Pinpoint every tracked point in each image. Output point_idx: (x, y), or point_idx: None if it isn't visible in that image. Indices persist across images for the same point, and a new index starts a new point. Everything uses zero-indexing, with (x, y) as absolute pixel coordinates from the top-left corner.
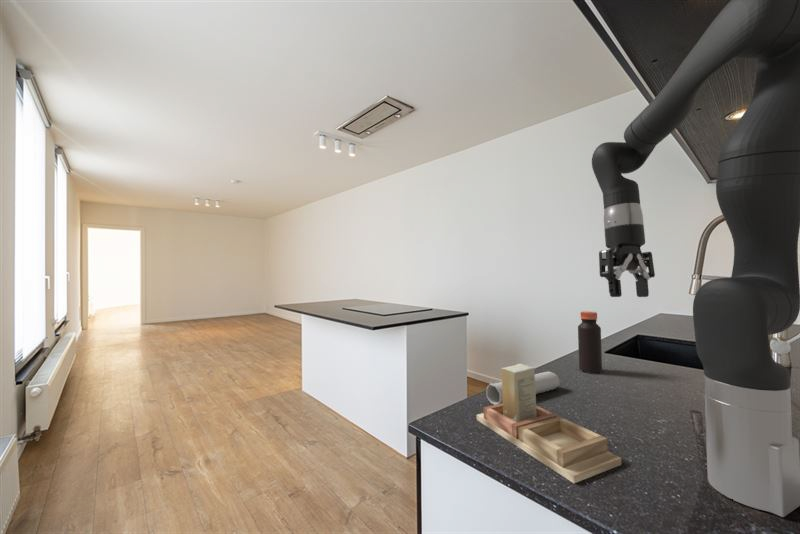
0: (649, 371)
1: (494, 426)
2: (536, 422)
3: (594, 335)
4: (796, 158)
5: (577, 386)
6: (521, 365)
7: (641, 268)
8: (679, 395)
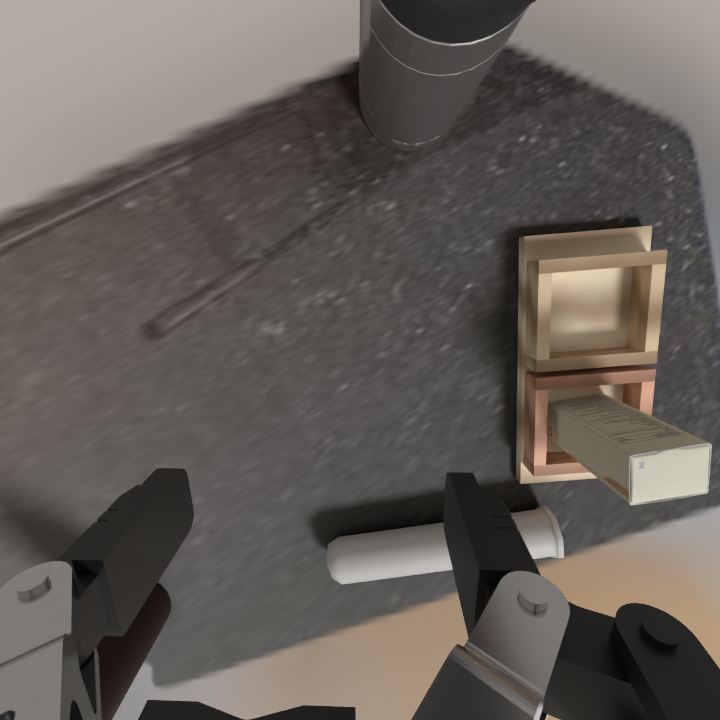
0: None
1: None
2: (595, 373)
3: None
4: None
5: (273, 532)
6: (646, 485)
7: (63, 695)
8: (88, 405)
